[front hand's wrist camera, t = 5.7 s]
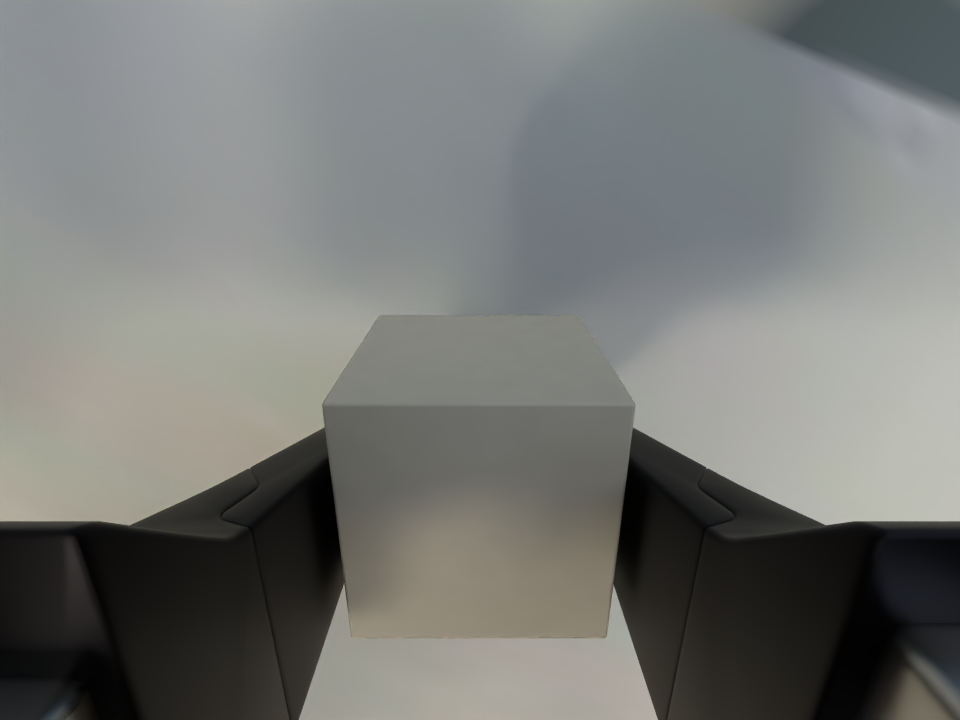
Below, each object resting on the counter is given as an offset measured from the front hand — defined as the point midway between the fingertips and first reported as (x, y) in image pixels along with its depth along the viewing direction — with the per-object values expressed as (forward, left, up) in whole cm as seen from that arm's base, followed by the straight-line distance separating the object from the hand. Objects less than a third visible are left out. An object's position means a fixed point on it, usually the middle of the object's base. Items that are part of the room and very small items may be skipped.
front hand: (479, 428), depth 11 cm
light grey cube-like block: (0, 0, -1) cm, 1 cm away
